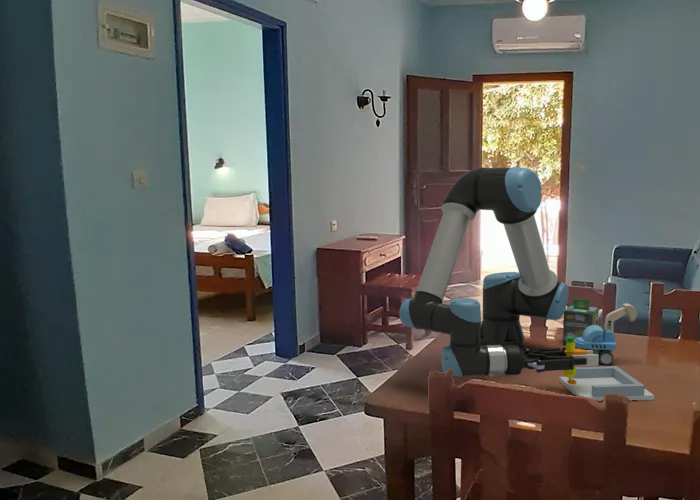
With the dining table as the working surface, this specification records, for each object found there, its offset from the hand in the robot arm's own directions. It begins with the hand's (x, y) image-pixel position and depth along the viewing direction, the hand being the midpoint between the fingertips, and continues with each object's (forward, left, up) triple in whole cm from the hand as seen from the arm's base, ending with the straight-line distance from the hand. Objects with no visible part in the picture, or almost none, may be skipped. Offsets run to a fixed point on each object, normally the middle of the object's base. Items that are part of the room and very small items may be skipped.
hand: (594, 357), depth 159 cm
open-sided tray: (+2, +2, -9) cm, 9 cm away
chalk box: (-13, +42, -9) cm, 45 cm away
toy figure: (-5, -3, -7) cm, 9 cm away
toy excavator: (-3, +27, -9) cm, 29 cm away
